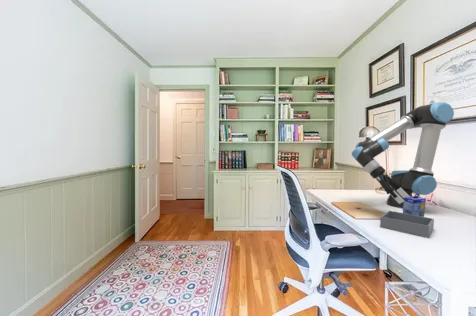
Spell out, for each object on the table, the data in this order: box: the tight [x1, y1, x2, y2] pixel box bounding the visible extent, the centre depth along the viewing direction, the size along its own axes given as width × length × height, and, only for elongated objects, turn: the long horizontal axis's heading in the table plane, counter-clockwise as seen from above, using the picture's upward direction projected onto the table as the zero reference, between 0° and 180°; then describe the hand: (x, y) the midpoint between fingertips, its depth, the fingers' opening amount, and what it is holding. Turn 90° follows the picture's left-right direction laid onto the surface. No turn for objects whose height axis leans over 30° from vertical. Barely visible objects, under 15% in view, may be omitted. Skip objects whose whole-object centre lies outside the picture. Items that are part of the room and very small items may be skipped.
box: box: [379, 210, 435, 239], centre depth 109 cm, size 15×18×5 cm
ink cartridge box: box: [402, 193, 427, 217], centre depth 120 cm, size 10×6×14 cm, turn 113°
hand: (405, 200), depth 122 cm, fingers open, 13 cm apart
